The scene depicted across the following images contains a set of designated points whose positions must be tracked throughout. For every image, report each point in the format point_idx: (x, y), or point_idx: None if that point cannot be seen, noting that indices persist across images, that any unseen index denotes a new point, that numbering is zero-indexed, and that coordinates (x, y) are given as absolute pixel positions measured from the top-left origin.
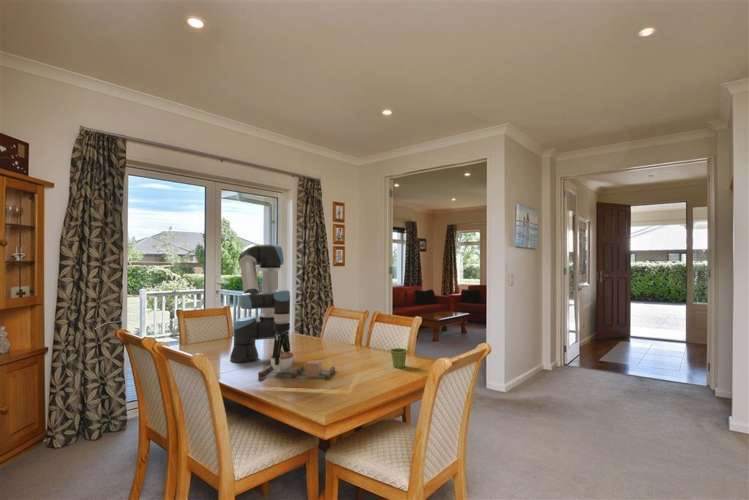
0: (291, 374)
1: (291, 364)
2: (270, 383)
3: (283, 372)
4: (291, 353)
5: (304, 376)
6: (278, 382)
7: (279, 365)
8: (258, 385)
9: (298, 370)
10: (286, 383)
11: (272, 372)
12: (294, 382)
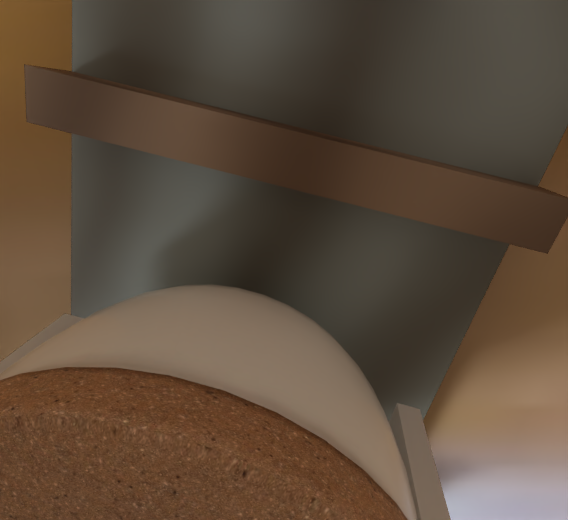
0: (547, 245)
1: (247, 295)
2: (496, 419)
3: None
4: (19, 460)
5: (467, 18)
6: (483, 352)
7: (440, 501)
8: (530, 503)
9: (331, 140)
10: (558, 269)
11: None
12: (547, 172)
